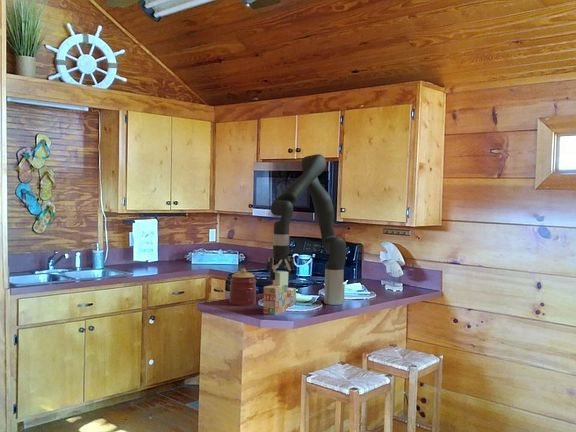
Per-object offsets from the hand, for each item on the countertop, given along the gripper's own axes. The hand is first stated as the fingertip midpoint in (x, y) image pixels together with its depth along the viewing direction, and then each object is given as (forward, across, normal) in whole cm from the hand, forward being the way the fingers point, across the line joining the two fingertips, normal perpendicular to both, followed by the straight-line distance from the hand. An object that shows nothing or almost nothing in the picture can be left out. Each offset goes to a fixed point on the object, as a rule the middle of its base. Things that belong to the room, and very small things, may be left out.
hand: (280, 279), depth 253 cm
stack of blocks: (+15, -2, -2) cm, 15 cm away
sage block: (+3, 0, 0) cm, 3 cm away
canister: (+15, +5, -22) cm, 27 cm away
